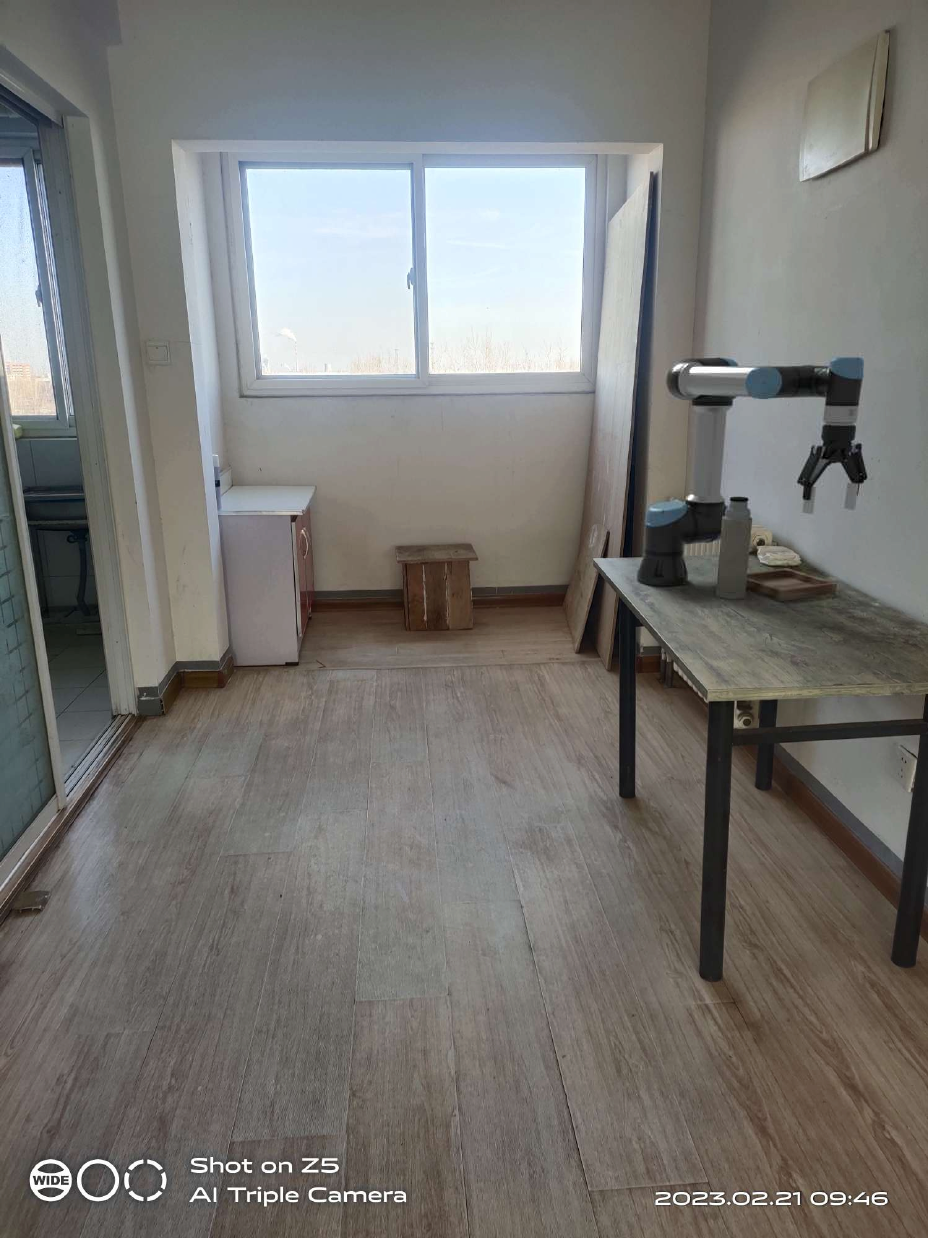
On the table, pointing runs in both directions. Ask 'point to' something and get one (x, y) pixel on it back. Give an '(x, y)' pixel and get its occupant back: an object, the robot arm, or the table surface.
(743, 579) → the thermos bottle
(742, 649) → the table surface
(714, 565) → the table surface
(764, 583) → the walnut tray
